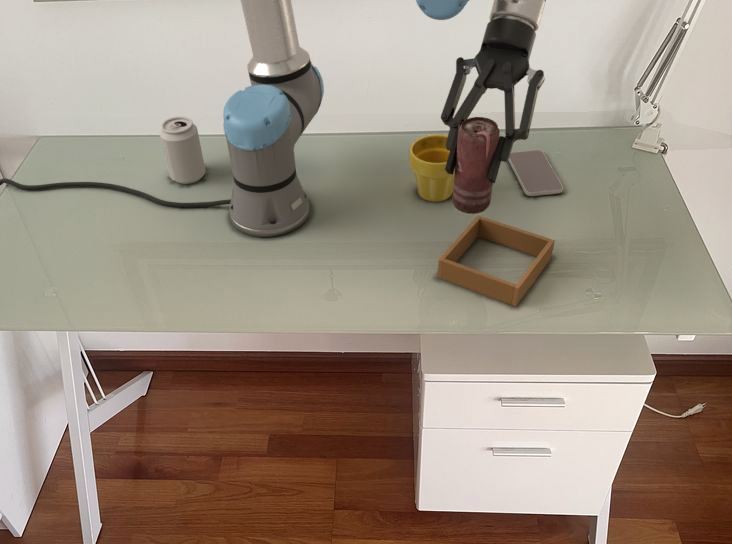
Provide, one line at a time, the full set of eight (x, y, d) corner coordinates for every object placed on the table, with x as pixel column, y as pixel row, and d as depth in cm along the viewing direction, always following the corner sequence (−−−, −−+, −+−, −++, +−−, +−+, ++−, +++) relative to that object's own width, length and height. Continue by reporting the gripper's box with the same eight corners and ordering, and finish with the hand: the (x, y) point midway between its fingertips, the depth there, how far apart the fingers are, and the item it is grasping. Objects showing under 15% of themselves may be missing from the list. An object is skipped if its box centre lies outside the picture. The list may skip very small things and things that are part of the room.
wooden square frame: (437, 277, 130) (438, 259, 128) (476, 233, 139) (477, 214, 136) (515, 306, 124) (518, 288, 121) (551, 258, 132) (555, 240, 130)
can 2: (467, 220, 120) (475, 141, 109) (444, 199, 124) (451, 121, 113) (498, 208, 121) (509, 129, 111) (475, 188, 125) (484, 111, 115)
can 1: (213, 171, 157) (203, 119, 149) (190, 190, 153) (178, 136, 145) (186, 162, 161) (174, 110, 152) (162, 180, 156) (149, 127, 148)
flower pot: (459, 209, 144) (463, 164, 137) (405, 205, 146) (406, 161, 139) (464, 179, 151) (467, 135, 144) (412, 176, 153) (413, 132, 146)
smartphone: (541, 149, 156) (565, 189, 145) (541, 153, 156) (564, 193, 146) (506, 152, 155) (527, 193, 145) (505, 156, 156) (526, 197, 145)
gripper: (447, 7, 114) (405, 158, 115) (575, 24, 108) (528, 183, 109) (456, 28, 121) (417, 170, 123) (576, 45, 115) (533, 194, 116)
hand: (469, 176), depth 116 cm, fingers closed on can 2, 6 cm apart
